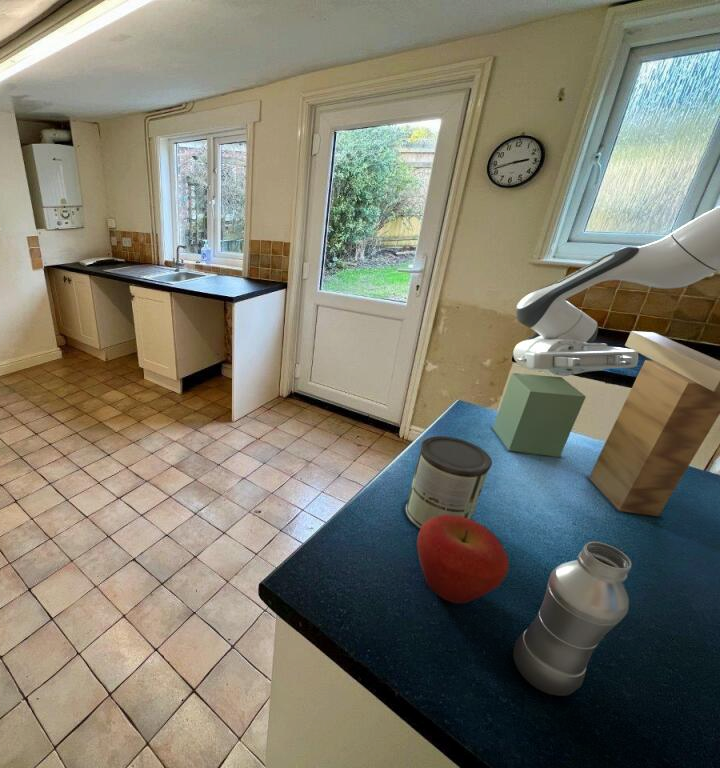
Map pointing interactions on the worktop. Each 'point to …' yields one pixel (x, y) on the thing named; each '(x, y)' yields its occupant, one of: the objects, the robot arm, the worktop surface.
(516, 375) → the low box
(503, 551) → the apple
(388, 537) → the worktop surface
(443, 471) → the coffee can
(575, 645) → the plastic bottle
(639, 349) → the slim box
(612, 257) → the robot arm
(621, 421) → the tall stand
